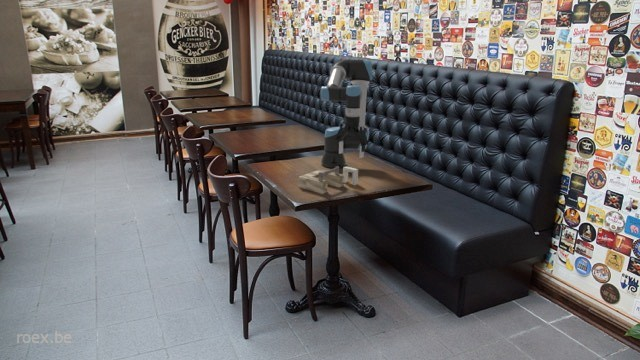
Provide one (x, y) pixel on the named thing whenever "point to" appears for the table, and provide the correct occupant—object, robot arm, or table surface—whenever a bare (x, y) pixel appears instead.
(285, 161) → the table surface
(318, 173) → the c-clamp
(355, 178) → the white u-shaped bracket
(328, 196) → the table surface
